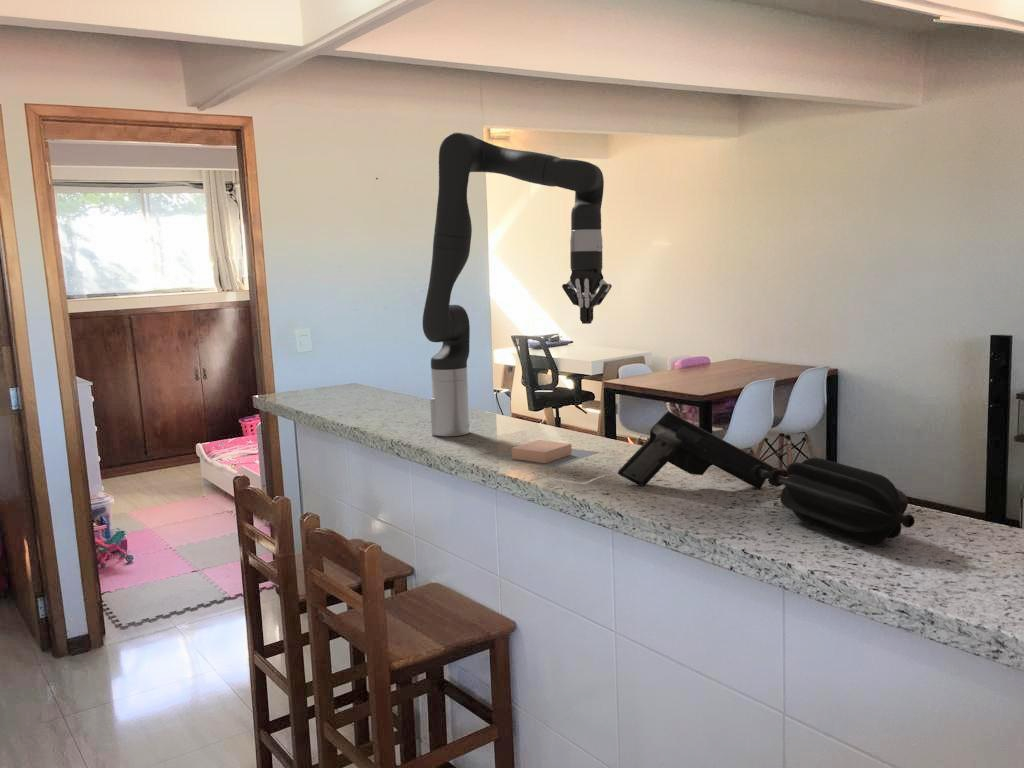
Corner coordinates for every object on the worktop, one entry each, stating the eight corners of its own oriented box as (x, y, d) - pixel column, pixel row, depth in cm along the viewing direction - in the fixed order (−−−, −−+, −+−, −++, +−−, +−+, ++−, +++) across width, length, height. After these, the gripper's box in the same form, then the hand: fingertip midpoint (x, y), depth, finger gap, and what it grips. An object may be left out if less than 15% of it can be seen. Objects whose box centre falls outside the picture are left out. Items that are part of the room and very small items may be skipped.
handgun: (732, 536, 157) (772, 468, 154) (617, 473, 160) (655, 405, 156) (731, 532, 159) (771, 465, 156) (618, 470, 162) (655, 403, 159)
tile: (539, 450, 192) (512, 459, 184) (538, 439, 192) (511, 447, 184) (571, 455, 187) (545, 464, 179) (571, 443, 186) (544, 452, 179)
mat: (496, 459, 186) (496, 458, 186) (541, 446, 199) (541, 444, 199) (555, 468, 176) (555, 467, 176) (599, 453, 189) (598, 452, 189)
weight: (936, 551, 119) (939, 482, 118) (882, 562, 116) (884, 491, 114) (778, 495, 150) (779, 440, 149) (732, 502, 147) (732, 446, 145)
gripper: (554, 250, 198) (554, 323, 201) (602, 248, 190) (602, 325, 193) (571, 250, 204) (572, 321, 206) (618, 249, 196) (619, 323, 198)
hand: (586, 323), depth 199 cm, fingers closed
